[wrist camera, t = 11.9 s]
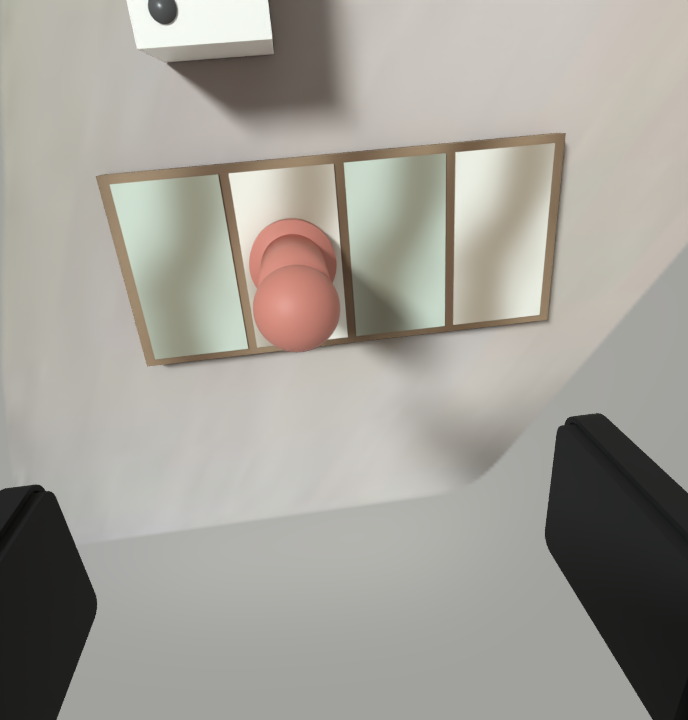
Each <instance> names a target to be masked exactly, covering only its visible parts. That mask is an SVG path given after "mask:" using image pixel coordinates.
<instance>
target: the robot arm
mask: <svg viewBox="0 0 688 720" xmlns="http://www.w3.org/2000/svg"><path fill="white" fill-rule="evenodd" d="M545 539H546V543H547V546H548V549H549V550H550V553H551V554H552V556H553V558H554V559H555V561H556V563H557V564H558V566H559V568H560V569H561V571H562V572H563V574H564V576H565V577H566V579H567V581H568V582H569V584H570V585H571V587H572V589H573V590H574V592H575V593H576V595H577V597H578V598H579V600H580V602H581V603H582V605H583V606H584V608H585V610H586V612H587V613H588V615H589V616H590V618H591V620H592V621H593V623H594V625H595V626H596V628H597V630H598V631H599V633H600V634H601V636H602V638H603V639H604V641H605V643H606V644H607V646H608V647H609V649H610V651H611V652H612V654H613V656H614V657H615V659H616V660H617V662H618V664H619V665H620V667H621V669H622V670H623V672H624V674H625V675H626V677H627V678H628V680H629V682H630V683H631V685H632V687H633V688H634V690H635V691H636V693H637V695H638V696H639V698H640V700H641V701H642V703H643V705H644V706H645V708H646V709H647V711H648V713H649V714H650V716H651V717H652V719H653V720H688V493H687V492H686V491H685V490H684V489H683V488H682V487H681V486H680V485H678V484H677V483H676V482H675V481H674V480H673V479H672V478H671V477H670V476H669V475H668V474H667V473H665V472H664V471H663V470H662V469H661V468H660V467H659V466H658V465H657V464H656V463H655V462H654V461H653V460H652V459H650V458H649V457H648V456H647V455H646V454H645V453H644V452H643V451H642V450H641V449H640V448H639V447H637V446H636V445H635V444H634V443H633V442H632V441H631V440H630V439H629V438H628V437H627V436H626V435H625V434H624V433H623V432H621V431H620V430H619V429H618V428H617V427H616V426H615V425H614V424H613V423H612V422H611V421H610V420H609V419H607V418H606V417H605V416H604V415H602V414H599V413H596V414H588V415H580V416H573V417H569V418H567V420H566V422H565V425H563V426H560V427H559V428H558V431H557V435H556V443H555V452H554V460H553V468H552V477H551V486H550V493H549V502H548V510H547V518H546V527H545ZM96 610H97V599H96V595H95V592H94V590H93V587H92V585H91V582H90V580H89V577H88V575H87V572H86V570H85V567H84V565H83V563H82V560H81V558H80V555H79V553H78V550H77V548H76V545H75V543H74V540H73V538H72V536H71V533H70V531H69V528H68V526H67V523H66V521H65V518H64V516H63V513H62V511H61V509H60V506H59V504H58V501H57V499H56V497H55V495H54V494H53V493H52V492H50V491H45V490H44V488H43V487H42V486H40V485H29V486H21V487H13V488H5V489H3V490H1V491H0V720H56V719H57V716H58V714H59V711H60V709H61V706H62V703H63V701H64V698H65V695H66V693H67V690H68V687H69V684H70V682H71V679H72V677H73V674H74V672H75V669H76V666H77V663H78V661H79V658H80V656H81V653H82V650H83V648H84V645H85V642H86V640H87V637H88V634H89V632H90V629H91V626H92V624H93V621H94V619H95V615H96Z"/></svg>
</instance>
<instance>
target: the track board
mask: <svg viewBox="0 0 688 720" xmlns="http://www.w3.org/2000/svg"><path fill="white" fill-rule="evenodd" d="M565 134H566V133H552V134H541V135H530V136H519V137H508V138H497V139H486V140H476V141H465V142H454V143H443V144H432V145H421V146H410V147H399V148H388V149H377V150H366V151H356V152H345V153H334V154H323V155H312V156H301V157H290V158H279V159H268V160H257V161H246V162H236V163H225V164H214V165H203V166H192V167H181V168H170V169H159V170H148V171H137V172H126V173H116V174H105V175H99V176H96V179H97V182H98V186H99V190H100V194H101V197H102V201H103V205H104V208H105V212H106V216H107V219H108V223H109V227H110V230H111V234H112V238H113V242H114V245H115V249H116V253H117V256H118V260H119V264H120V267H121V271H122V275H123V278H124V282H125V286H126V290H127V293H128V297H129V301H130V304H131V308H132V312H133V315H134V319H135V323H136V327H137V330H138V334H139V338H140V341H141V345H142V349H143V352H144V356H145V360H146V363H147V366H155V365H163V364H172V363H180V362H189V361H198V360H206V359H215V358H223V357H232V356H240V355H249V354H258V353H266V352H275V351H283V350H282V349H280V348H277V347H276V346H274V345H272V344H271V343H270V342H269V341H267V340H266V339H265V338H264V337H263V335H262V334H261V333H260V331H259V329H258V327H257V325H256V323H255V320H254V316H253V301H254V296H255V293H256V291H257V288H256V287H255V285H254V283H253V281H252V278H251V275H250V270H249V258H250V253H251V249H252V246H253V243H254V241H255V239H256V237H257V236H258V234H259V233H260V232H261V231H262V230H263V229H264V228H265V227H266V226H268V225H270V224H271V223H273V222H275V221H278V220H281V219H286V218H297V219H303V220H306V221H309V222H311V223H313V224H315V225H316V226H317V227H319V228H320V229H321V230H322V231H323V232H324V233H325V234H326V236H327V237H328V239H329V240H330V242H331V244H332V247H333V249H334V252H335V255H336V261H337V268H336V275H335V278H334V281H333V283H332V284H333V285H334V287H335V289H336V291H337V293H338V296H339V300H340V317H339V321H338V324H337V327H336V329H335V331H334V332H333V334H332V335H331V336H330V337H329V338H328V339H327V340H326V342H324V343H323V344H322V345H320V346H326V345H335V344H343V343H352V342H361V341H369V340H378V339H386V338H395V337H403V336H412V335H421V334H429V333H438V332H446V331H455V330H464V329H472V328H481V327H489V326H498V325H506V324H515V323H524V322H532V321H541V320H547V317H548V307H549V297H550V287H551V277H552V266H553V256H554V246H555V236H556V226H557V216H558V205H559V195H560V185H561V175H562V165H563V155H564V144H565Z"/></svg>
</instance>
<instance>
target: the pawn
mask: <svg viewBox="0 0 688 720" xmlns="http://www.w3.org/2000/svg"><path fill="white" fill-rule="evenodd" d="M336 268H337V261H336V255H335V252H334V249H333V247H332V244H331V242H330V240H329V239H328V237H327V236H326V234H325V233H324V232H323V231H322V230H321V229H320V228H319V227H317V226H316V225H315V224H313V223H311V222H309V221H306V220H303V219H297V218H286V219H281V220H278V221H275V222H273V223H271V224H270V225H268V226H266V227H265V228H264V229H263V230H262V231H261V232H260V233H259V234H258V236H257V237H256V239H255V241H254V243H253V246H252V249H251V253H250V258H249V270H250V275H251V278H252V281H253V283H254V285H255V287H256V288H257V291H256V293H255V296H254V301H253V316H254V320H255V323H256V325H257V327H258V329H259V331H260V333H261V334H262V335H263V337H264V338H265V339H266V340H267V341H269V342H270V343H271V344H272V345H274V346H276V347H277V348H280V349H282V350H285V351H290V352H304V351H309V350H312V349H314V348H317V347H318V346H320V345H322V344H323V343H324V342H326V340H327V339H328V338H329V337H330V336H331V335H332V334H333V332H334V331H335V329H336V327H337V324H338V321H339V317H340V300H339V296H338V293H337V291H336V289H335V287H334V285H333V284H332V283H333V281H334V278H335V275H336Z"/></svg>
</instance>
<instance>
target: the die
mask: <svg viewBox="0 0 688 720" xmlns="http://www.w3.org/2000/svg"><path fill="white" fill-rule="evenodd" d="M127 4H128V9H129V14H130V18H131V23H132V28H133V32H134V37H135V42H136V46H137V49H138V50H140V51H142V52H144V53H146V54H148V55H150V56H152V57H155V58H157V59H159V60H161V61H163V62H176V61H189V60H202V59H215V58H228V57H241V56H254V55H267V54H274V49H273V39H272V31H271V22H270V14H269V5H268V0H127Z"/></svg>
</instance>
